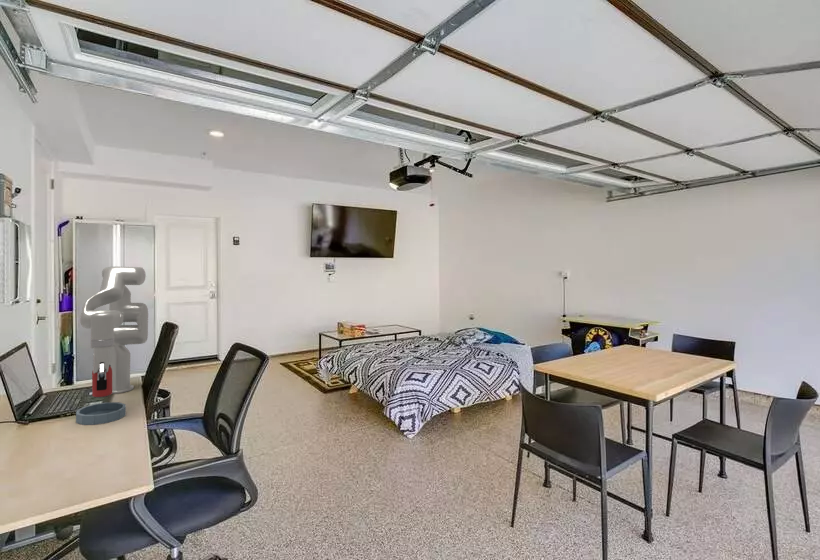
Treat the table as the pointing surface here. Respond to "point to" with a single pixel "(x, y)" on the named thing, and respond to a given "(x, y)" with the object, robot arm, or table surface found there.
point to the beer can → (109, 384)
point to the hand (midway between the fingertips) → (101, 387)
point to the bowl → (100, 413)
